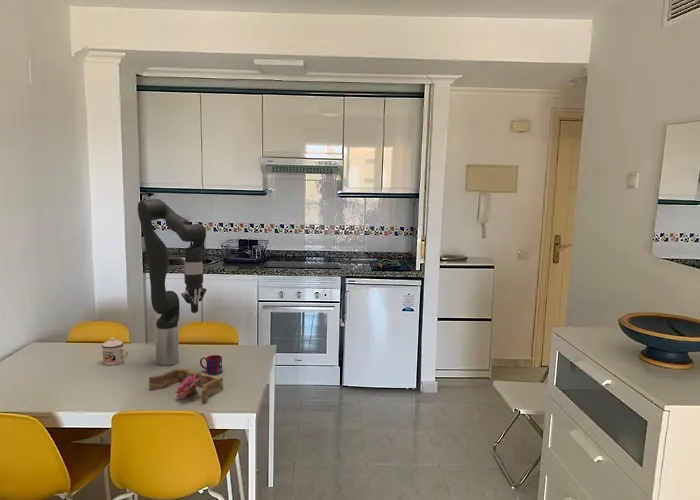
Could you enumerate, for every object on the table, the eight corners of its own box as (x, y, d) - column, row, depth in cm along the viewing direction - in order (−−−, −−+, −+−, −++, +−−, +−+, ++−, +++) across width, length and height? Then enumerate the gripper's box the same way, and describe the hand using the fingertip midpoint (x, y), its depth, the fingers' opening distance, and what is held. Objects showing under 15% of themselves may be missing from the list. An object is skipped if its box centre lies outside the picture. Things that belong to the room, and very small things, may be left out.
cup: (216, 376, 229) (216, 361, 228) (197, 372, 233) (196, 358, 232) (225, 370, 236) (224, 356, 235) (206, 367, 239) (205, 353, 238)
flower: (173, 408, 205) (167, 383, 209) (197, 402, 212) (190, 378, 216) (186, 398, 198) (179, 373, 202) (209, 393, 205) (203, 368, 209)
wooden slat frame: (147, 389, 214) (147, 377, 213) (173, 377, 227) (172, 366, 226) (204, 404, 202) (204, 391, 201) (228, 390, 214) (228, 378, 213)
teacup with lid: (98, 364, 241) (96, 340, 239) (111, 358, 250) (110, 334, 248) (121, 367, 238) (120, 342, 236) (134, 360, 247) (132, 336, 245)
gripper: (197, 268, 228) (198, 307, 231) (175, 273, 216) (176, 314, 219) (211, 270, 225) (212, 310, 227) (189, 275, 213) (190, 317, 216)
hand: (194, 312), depth 223 cm, fingers closed
